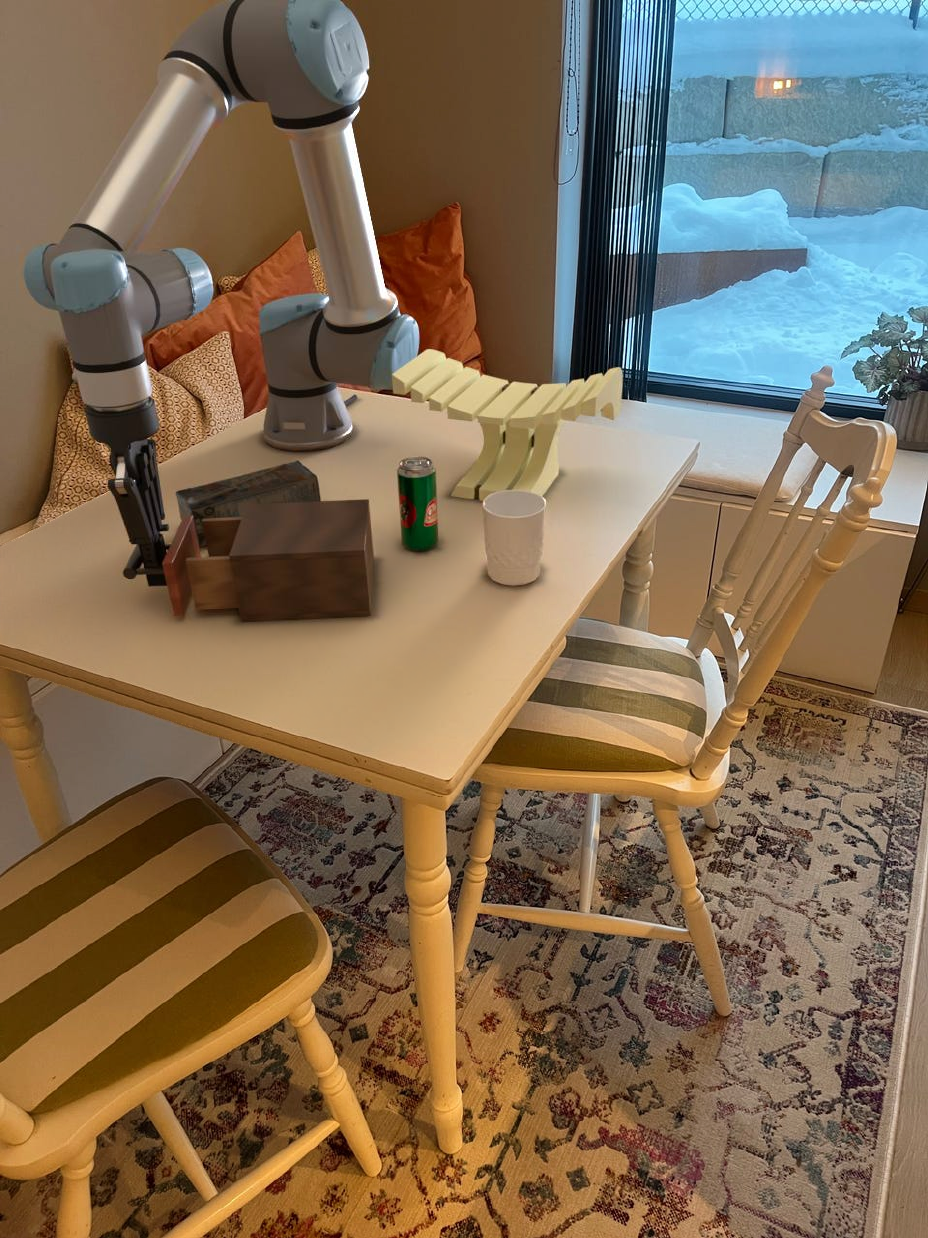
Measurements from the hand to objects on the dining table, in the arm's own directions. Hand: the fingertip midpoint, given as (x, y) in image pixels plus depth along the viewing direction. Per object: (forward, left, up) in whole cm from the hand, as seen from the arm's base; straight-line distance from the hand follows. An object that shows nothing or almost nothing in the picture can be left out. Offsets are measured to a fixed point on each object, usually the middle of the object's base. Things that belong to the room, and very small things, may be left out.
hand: (160, 582), depth 117 cm
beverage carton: (-20, +8, -2) cm, 22 cm away
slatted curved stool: (-31, +46, -2) cm, 56 cm away
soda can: (-11, +32, -2) cm, 34 cm away
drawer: (0, +7, -1) cm, 7 cm away
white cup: (-2, +44, -2) cm, 45 cm away
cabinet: (0, +18, -2) cm, 19 cm away
